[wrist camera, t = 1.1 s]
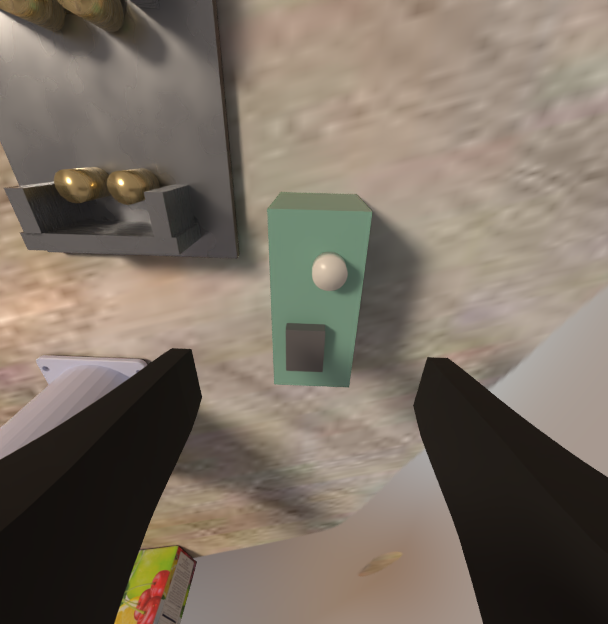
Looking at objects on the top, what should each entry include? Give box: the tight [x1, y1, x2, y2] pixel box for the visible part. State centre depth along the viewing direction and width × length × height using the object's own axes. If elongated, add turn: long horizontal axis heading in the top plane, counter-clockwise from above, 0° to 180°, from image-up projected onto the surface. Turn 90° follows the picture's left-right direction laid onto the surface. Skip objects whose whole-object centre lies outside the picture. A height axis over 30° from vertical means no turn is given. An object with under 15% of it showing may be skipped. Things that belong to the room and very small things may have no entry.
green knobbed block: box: [267, 192, 372, 387], centre depth 15 cm, size 9×4×6 cm, turn 179°
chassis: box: [0, 0, 239, 258], centre depth 12 cm, size 14×11×4 cm
